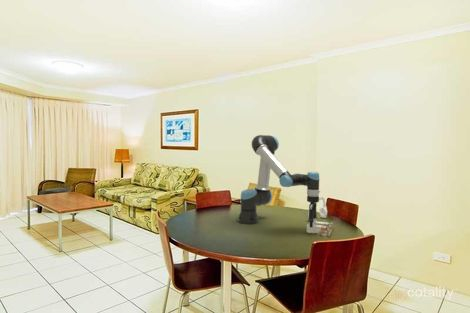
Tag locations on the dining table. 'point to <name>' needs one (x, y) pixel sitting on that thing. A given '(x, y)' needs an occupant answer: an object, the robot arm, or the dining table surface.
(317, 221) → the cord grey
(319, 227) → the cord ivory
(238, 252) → the dining table surface
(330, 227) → the comb rack
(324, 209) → the headset
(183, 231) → the dining table surface
